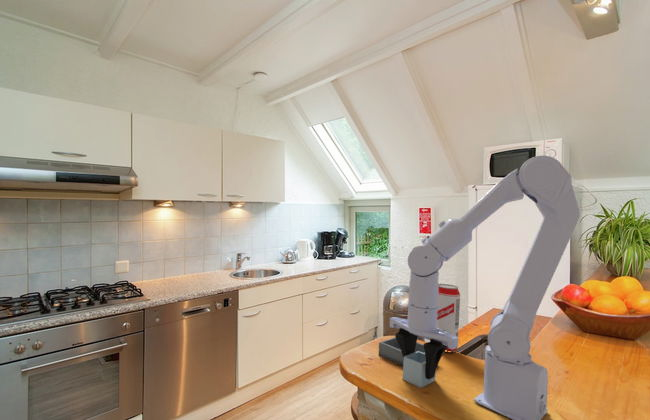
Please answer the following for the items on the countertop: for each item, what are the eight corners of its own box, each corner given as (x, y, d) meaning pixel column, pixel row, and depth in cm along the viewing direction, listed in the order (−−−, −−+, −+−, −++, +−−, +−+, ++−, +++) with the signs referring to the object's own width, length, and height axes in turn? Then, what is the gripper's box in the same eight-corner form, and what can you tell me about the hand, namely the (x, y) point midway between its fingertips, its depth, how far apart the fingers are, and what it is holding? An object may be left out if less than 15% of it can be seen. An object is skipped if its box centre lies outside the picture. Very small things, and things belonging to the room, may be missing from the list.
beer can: (453, 356, 79) (456, 289, 79) (427, 348, 83) (431, 285, 83) (460, 349, 84) (463, 286, 84) (436, 342, 88) (439, 282, 88)
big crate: (435, 362, 75) (435, 349, 75) (415, 371, 70) (416, 357, 70) (399, 347, 83) (399, 335, 83) (378, 354, 77) (379, 342, 77)
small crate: (435, 380, 66) (436, 358, 66) (420, 388, 63) (422, 364, 63) (417, 372, 70) (418, 350, 70) (402, 379, 66) (403, 356, 66)
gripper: (467, 311, 64) (463, 382, 63) (404, 295, 75) (401, 355, 74) (449, 317, 59) (445, 393, 59) (385, 298, 70) (381, 362, 70)
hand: (419, 372), depth 66 cm, fingers open, 4 cm apart
